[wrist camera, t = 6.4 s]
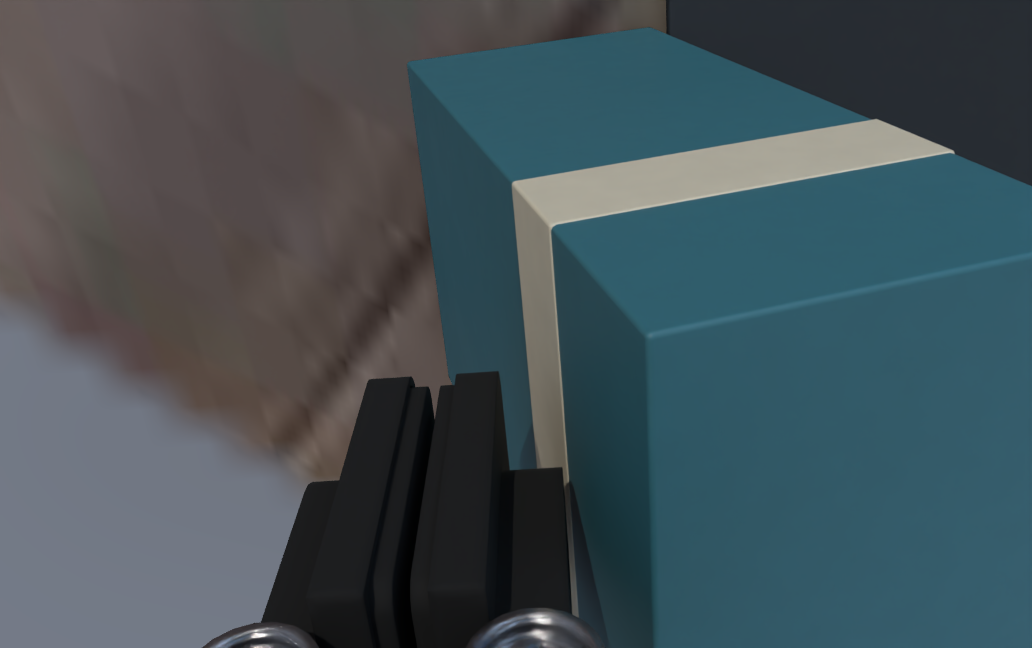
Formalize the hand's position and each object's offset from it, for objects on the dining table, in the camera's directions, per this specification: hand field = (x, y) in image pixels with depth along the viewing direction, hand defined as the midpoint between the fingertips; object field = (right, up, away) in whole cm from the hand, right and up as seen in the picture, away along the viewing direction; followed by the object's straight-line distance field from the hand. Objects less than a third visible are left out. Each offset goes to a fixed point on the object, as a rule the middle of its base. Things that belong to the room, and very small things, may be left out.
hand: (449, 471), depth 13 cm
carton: (+1, +4, +8) cm, 9 cm away
